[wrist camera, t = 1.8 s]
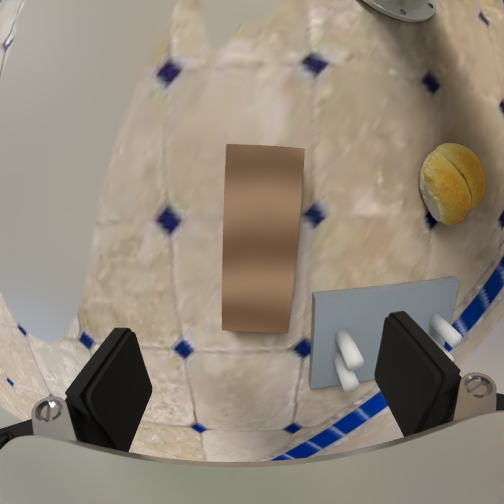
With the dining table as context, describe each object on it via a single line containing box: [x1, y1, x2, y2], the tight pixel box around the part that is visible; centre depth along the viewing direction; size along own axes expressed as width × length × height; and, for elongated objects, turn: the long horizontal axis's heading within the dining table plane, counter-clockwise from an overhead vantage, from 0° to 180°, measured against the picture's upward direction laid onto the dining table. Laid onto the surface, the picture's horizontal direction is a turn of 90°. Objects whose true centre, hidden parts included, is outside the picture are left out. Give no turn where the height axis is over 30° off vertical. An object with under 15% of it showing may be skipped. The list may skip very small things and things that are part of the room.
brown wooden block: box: [222, 144, 305, 333], centre depth 25 cm, size 16×6×4 cm, turn 177°
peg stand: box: [309, 277, 462, 392], centre depth 26 cm, size 12×18×6 cm, turn 94°
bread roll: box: [419, 143, 486, 225], centre depth 23 cm, size 8×9×4 cm
